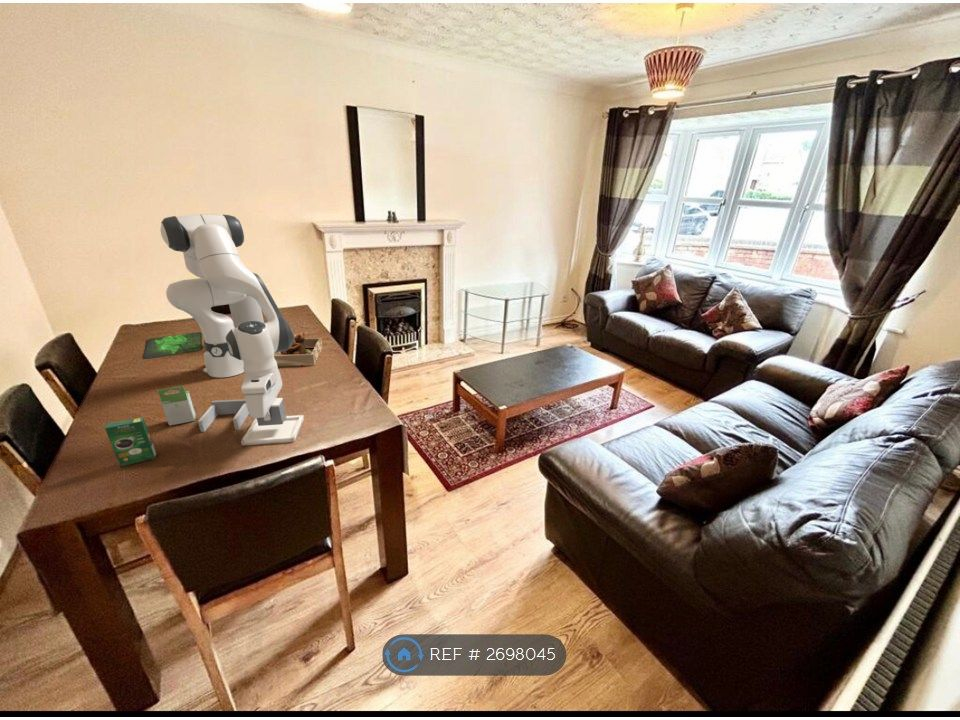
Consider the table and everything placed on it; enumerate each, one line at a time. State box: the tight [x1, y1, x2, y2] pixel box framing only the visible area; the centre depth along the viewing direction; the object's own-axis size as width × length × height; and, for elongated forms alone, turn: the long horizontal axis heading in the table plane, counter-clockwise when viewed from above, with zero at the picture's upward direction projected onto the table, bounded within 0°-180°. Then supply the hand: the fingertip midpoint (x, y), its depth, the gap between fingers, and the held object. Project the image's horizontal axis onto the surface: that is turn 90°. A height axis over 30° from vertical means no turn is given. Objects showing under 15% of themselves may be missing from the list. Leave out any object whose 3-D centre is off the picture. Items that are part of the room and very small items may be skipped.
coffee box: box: [104, 416, 157, 467], centre depth 107 cm, size 8×3×13 cm, turn 120°
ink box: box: [156, 385, 197, 427], centre depth 125 cm, size 7×4×13 cm, turn 117°
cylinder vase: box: [228, 295, 265, 328], centre depth 183 cm, size 12×12×25 cm
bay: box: [197, 398, 250, 433], centre depth 127 cm, size 11×11×5 cm
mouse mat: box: [142, 331, 203, 360], centre depth 183 cm, size 27×22×1 cm
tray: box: [240, 414, 305, 446], centre depth 124 cm, size 13×15×2 cm
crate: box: [274, 337, 324, 367], centre depth 175 cm, size 20×19×5 cm
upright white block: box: [257, 397, 287, 426], centre depth 121 cm, size 4×7×7 cm, turn 101°
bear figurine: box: [280, 332, 312, 355], centre depth 172 cm, size 14×15×12 cm
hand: (271, 414), depth 121 cm, fingers closed on upright white block, 4 cm apart
